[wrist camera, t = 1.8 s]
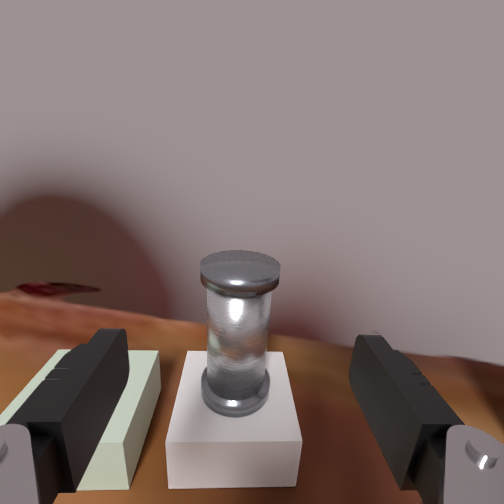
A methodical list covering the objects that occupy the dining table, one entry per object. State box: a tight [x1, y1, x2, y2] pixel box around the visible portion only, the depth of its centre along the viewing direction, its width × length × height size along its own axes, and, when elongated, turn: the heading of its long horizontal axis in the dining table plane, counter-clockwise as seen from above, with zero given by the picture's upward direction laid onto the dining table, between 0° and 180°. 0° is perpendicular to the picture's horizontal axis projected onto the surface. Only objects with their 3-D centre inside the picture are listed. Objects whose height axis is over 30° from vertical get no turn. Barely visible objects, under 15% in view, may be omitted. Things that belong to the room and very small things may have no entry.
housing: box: [200, 250, 280, 418], centre depth 24 cm, size 6×6×12 cm
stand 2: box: [165, 351, 302, 489], centre depth 27 cm, size 10×10×5 cm
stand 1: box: [0, 350, 161, 490], centre depth 26 cm, size 10×10×5 cm
